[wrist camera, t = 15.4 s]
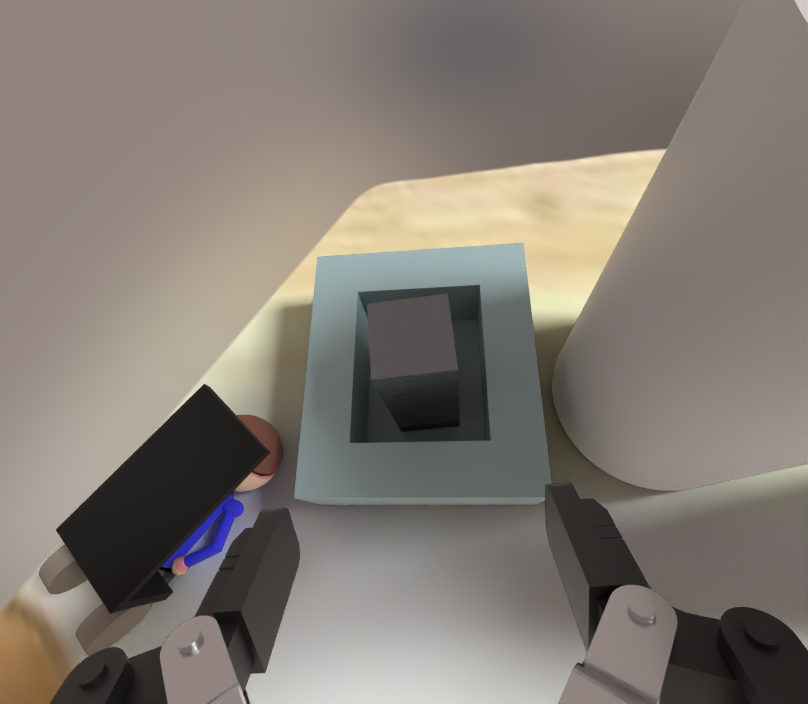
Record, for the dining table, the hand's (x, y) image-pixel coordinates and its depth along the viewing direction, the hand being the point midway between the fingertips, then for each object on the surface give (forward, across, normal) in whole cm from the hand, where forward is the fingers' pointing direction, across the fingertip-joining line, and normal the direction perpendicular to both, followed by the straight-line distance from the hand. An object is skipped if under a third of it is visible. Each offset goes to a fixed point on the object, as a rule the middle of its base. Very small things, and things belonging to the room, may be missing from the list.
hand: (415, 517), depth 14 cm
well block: (+18, 0, +5) cm, 19 cm away
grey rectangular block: (+17, 0, +5) cm, 17 cm away
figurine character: (+13, +16, +10) cm, 23 cm away
